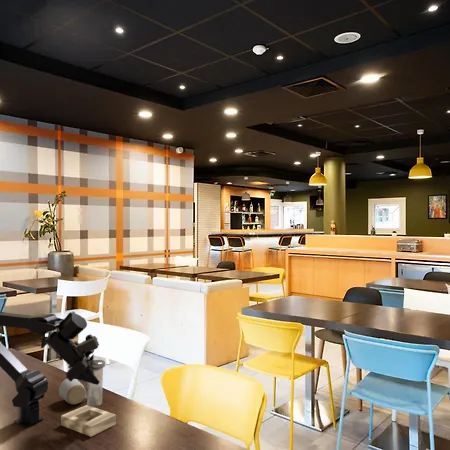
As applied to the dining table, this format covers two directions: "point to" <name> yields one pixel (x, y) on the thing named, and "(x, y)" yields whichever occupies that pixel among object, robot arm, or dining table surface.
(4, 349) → the robot arm
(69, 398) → the ceramic mug
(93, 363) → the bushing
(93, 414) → the plate
